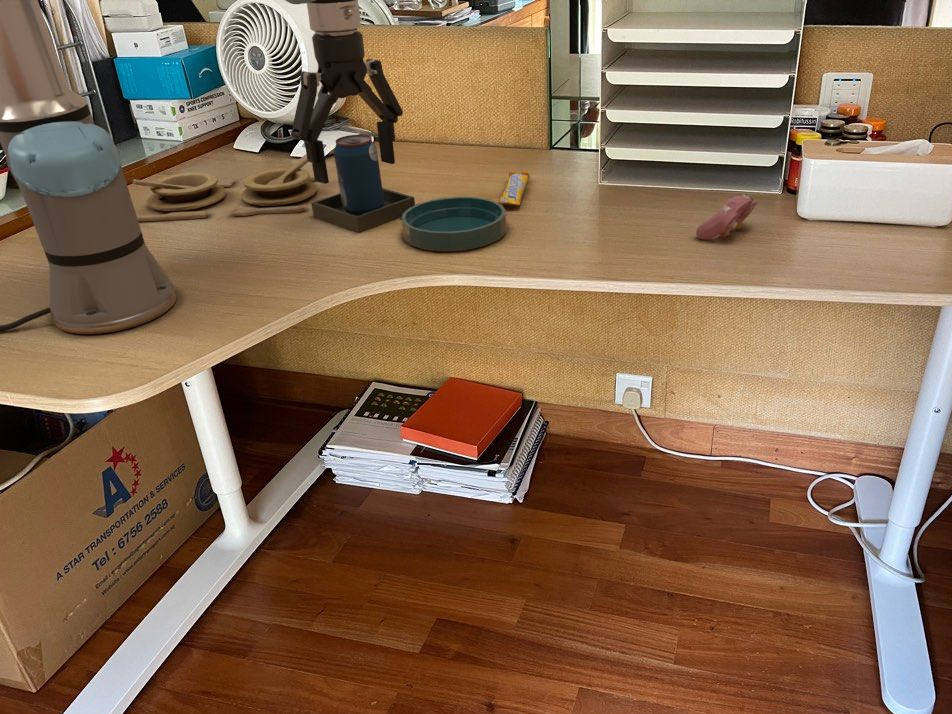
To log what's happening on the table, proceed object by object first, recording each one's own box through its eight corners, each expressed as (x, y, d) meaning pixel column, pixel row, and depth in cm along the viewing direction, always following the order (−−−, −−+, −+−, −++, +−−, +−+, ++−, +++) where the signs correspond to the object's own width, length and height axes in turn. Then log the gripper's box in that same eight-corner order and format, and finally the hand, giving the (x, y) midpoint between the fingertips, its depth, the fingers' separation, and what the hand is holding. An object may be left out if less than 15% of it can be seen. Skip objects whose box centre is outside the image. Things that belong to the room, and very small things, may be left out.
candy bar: (508, 180, 154) (508, 169, 153) (531, 180, 154) (531, 169, 153) (495, 211, 140) (494, 200, 139) (519, 211, 140) (519, 200, 139)
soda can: (393, 207, 142) (383, 135, 136) (368, 220, 137) (357, 147, 131) (361, 202, 145) (350, 131, 139) (335, 215, 140) (322, 142, 134)
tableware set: (132, 223, 142) (121, 188, 139) (167, 186, 158) (158, 154, 155) (309, 212, 143) (302, 178, 140) (325, 177, 160) (319, 145, 156)
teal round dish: (454, 261, 123) (452, 241, 121) (382, 237, 132) (379, 217, 130) (527, 229, 133) (527, 209, 131) (456, 208, 142) (454, 190, 140)
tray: (358, 232, 134) (356, 217, 133) (313, 217, 141) (310, 202, 140) (416, 211, 142) (414, 197, 140) (370, 197, 149) (368, 183, 147)
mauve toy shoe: (714, 253, 126) (738, 217, 121) (691, 235, 127) (713, 198, 122) (743, 233, 132) (767, 198, 127) (721, 216, 133) (743, 180, 128)
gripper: (280, 45, 116) (306, 195, 127) (415, 23, 132) (428, 158, 143) (250, 40, 120) (277, 186, 132) (385, 19, 136) (399, 151, 147)
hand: (356, 172), depth 137 cm, fingers open, 13 cm apart
